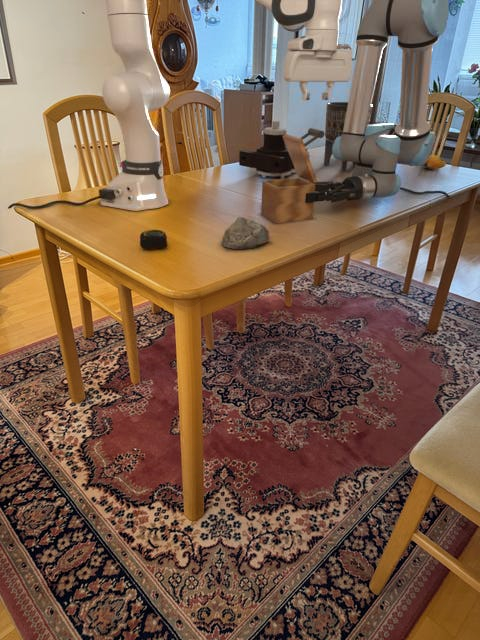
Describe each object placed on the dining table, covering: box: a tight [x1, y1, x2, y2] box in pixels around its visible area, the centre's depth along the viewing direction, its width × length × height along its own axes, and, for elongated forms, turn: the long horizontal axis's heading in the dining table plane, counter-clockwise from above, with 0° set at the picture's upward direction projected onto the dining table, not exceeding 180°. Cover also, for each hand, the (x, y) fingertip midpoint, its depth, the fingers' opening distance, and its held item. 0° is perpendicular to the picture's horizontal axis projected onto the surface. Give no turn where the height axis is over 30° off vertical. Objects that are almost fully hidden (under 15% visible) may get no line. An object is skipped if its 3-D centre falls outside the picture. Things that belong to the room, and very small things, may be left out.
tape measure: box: [139, 229, 168, 250], centre depth 117 cm, size 7×7×4 cm
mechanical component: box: [238, 120, 311, 179], centre depth 191 cm, size 22×21×30 cm
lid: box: [282, 127, 325, 183], centre depth 136 cm, size 14×10×9 cm
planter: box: [323, 101, 374, 172], centre depth 204 cm, size 20×20×26 cm
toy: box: [421, 154, 447, 171], centre depth 211 cm, size 11×6×15 cm
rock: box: [221, 216, 270, 250], centre depth 119 cm, size 13×9×6 cm, turn 131°
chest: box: [260, 177, 315, 224], centre depth 141 cm, size 13×10×11 cm
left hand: (315, 100), depth 129 cm, fingers open, 5 cm apart
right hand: (297, 193), depth 141 cm, fingers closed on chest, 10 cm apart
